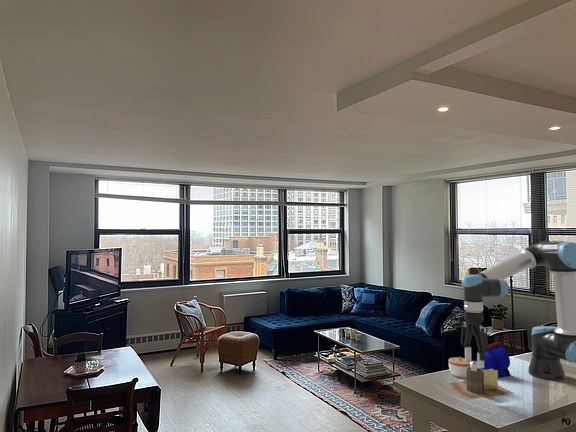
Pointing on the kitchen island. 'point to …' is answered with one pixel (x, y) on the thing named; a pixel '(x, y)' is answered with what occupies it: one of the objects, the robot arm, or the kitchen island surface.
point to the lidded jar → (458, 367)
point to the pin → (474, 365)
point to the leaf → (490, 380)
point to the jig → (474, 386)
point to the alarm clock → (497, 360)
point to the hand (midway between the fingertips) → (474, 365)
